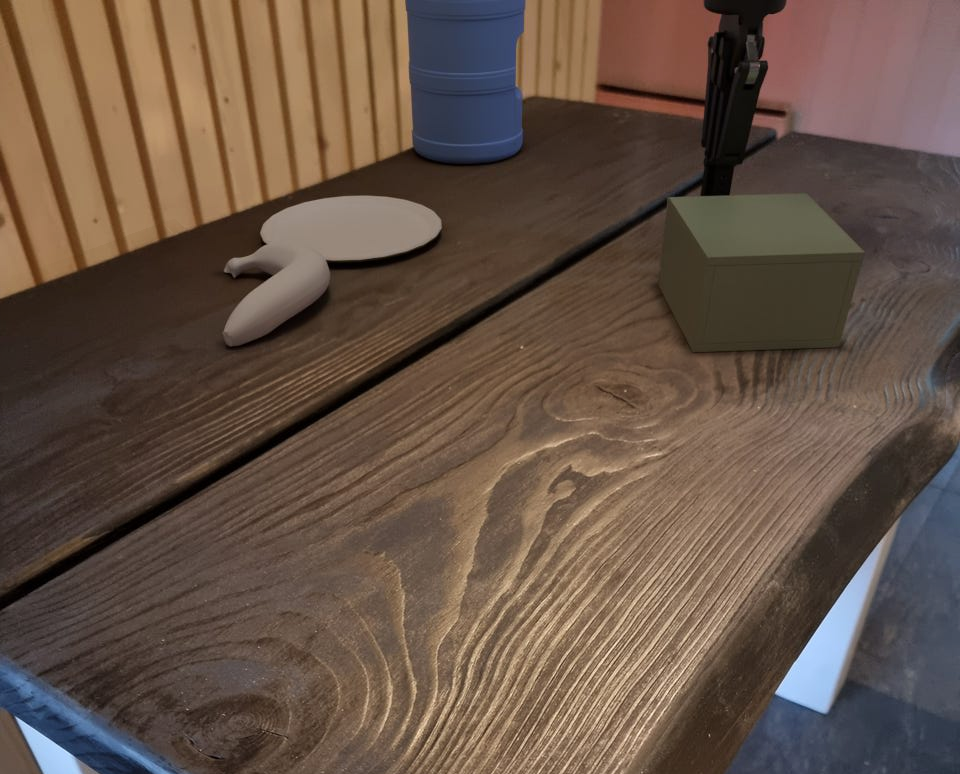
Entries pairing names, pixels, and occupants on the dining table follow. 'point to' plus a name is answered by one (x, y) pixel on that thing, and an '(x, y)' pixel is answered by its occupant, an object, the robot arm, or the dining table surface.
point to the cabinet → (757, 272)
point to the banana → (276, 288)
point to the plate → (355, 227)
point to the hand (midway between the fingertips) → (709, 228)
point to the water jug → (465, 79)
